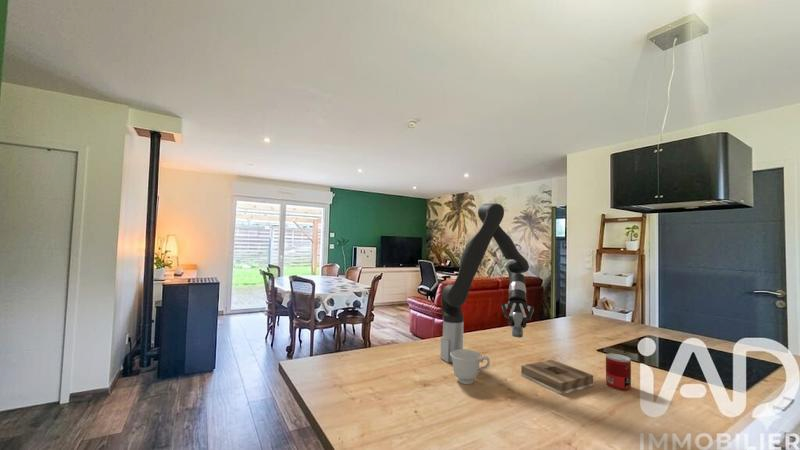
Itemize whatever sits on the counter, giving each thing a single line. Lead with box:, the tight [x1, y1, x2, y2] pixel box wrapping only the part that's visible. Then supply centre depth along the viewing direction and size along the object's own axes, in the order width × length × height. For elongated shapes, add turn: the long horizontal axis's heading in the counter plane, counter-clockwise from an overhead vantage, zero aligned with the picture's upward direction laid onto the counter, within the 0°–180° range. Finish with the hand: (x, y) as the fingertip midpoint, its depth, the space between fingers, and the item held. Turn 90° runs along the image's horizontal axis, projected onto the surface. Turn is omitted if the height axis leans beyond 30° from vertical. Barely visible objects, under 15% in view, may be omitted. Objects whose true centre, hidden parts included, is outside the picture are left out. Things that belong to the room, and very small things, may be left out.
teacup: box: [450, 348, 491, 385], centre depth 127 cm, size 12×15×10 cm
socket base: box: [520, 359, 594, 396], centre depth 129 cm, size 18×18×4 cm
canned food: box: [605, 353, 632, 391], centre depth 126 cm, size 8×8×11 cm
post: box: [511, 311, 524, 339], centre depth 143 cm, size 4×4×10 cm
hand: (517, 326), depth 141 cm, fingers closed on post, 4 cm apart
